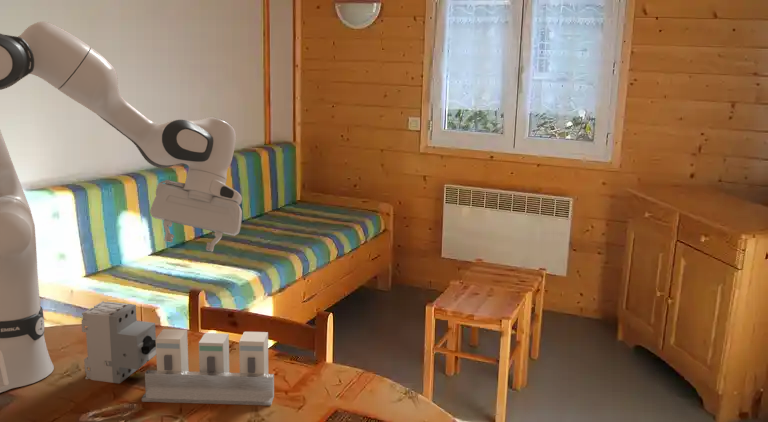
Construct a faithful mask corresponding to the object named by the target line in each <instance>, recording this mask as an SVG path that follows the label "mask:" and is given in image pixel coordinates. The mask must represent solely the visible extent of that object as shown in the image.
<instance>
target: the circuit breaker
mask: <svg viewBox="0 0 768 422" xmlns="http://www.w3.org/2000/svg"><path fill="white" fill-rule="evenodd" d="M81 316H82V319H81V321H80V322H81V332H82V333H85V335H86V338H85V339H86V349H87V351H86V353H87V357H85V358H84V359H83V361H84V373H85V374H86V377H85V380H89V379H90V380H91V381H97V382H106V383H113V384H121V383H122V382H123V381H125V380H126V379H127V378H128V377H130V376H131V375H133V374H134V373H135V372H136V371H137V370H139V369H140V368H142V367H144V365H146V364H147V362H150V360H152V359H153V358H155V356H156V337H157V336H156V335H157V334H156V333H157V332H156V322H150V321H142V320H137V306H136V304H134V303H124V302H123V303H122V302H114V301H104V300H102V301H100V302H99V303H97V304H96V305H95V304H94V305H93V307H90V308H88V309H87V310H85V311H83V312H82V313H81ZM88 368H89V369H88Z"/></svg>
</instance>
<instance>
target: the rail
mask: <svg viewBox="0 0 768 422" xmlns="http://www.w3.org/2000/svg"><path fill="white" fill-rule="evenodd" d="M144 383H145V393H144V394H143V395H142V397H141V402H142V403H145V402H146V403H147V402H148V403H175V404H176V403H178V404H183V403H184V404H211V405H213V404H214V405H237V406H238V405H239V406H241V405H242V406H243V405H244V406H245V405H246V406H248V405H249V406H272V404H273V401H274V398H275V374H274V373H268V374H257V373H240V372H229V373H224V372H200V371H190V370H189V371H159V370H157V369H156V370H154V369H150V370H149V369H147V370H146V371H145V373H144Z"/></svg>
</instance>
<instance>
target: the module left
mask: <svg viewBox="0 0 768 422" xmlns="http://www.w3.org/2000/svg"><path fill="white" fill-rule="evenodd" d="M188 343H189V341H188V329H173V328H172V329H171V328H169V329H168V328H163V329H162V330H160V333H159V334H158V335H157V336H156V355H155V356H156V358H155V359H156V370H159V371H190V370H189V348H188V347H189V345H188Z"/></svg>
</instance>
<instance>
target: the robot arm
mask: <svg viewBox="0 0 768 422" xmlns="http://www.w3.org/2000/svg"><path fill="white" fill-rule="evenodd" d="M28 75H34V76H36V77H38V78H40V79H42V80H43V81H45V82H47V83H48V84H49V85H51V86H53V88H55V89H57V90H58V91H59V92H61V93H62V94H64V95H65V96H67V97H68V98H71V99H72V100H74V101H75V102H77V103H78V104H80V105H82V106H83V107H84V108H86V109H88V110H90V112H93V113H94V114H96V115H97V116H98V117H100V118H101V119H102V120H103V121H104V122H106V123H107V124H108V125H110V126H111V127H112V128H114V129H115V130H116V131H117V132H119V133H120V134H121V135H123V136H124V137H126V138H127V139H128V140H129V141H130V142H132V143H133V144H134V146H135V147H136V148H137V150H138V151H139V152H140V154H141V156H142V157H143V158H144V160H145V161H146V162H147V163H149V164H150V165H152V166H153V167H156V168H161V169H166V168H167V169H168V168H171V167H174V166H175V165H181V164H185V165H187V166H188V172H187V174H186V178H185V181H184V182H179V181H174V180H173V181H172V179H171V180H170V179H166V180H161V181H160V182H159V183H158V184H157V185H156V186H157V187H156V189H155V197H154V199H153V202H152V204H151V207H150V210H149V211H150V215H151V217H152V218H153V219H156V220H161V221H163V223H162V224H163V229H164V233H165V235H164V239H163V240H164V241H165V242H168V243H173V241H174V240H173V239H174V238H175V235H174V234H173V233H171V230H170V228H171V227H172V226H173V224H178V225H184V226H187V227H192V228H197V229H200V230H201V229H202V230H205V231H210V232H214V238H213V240H212V241H211V242H208V241H207V243H206V246H205V251H208V252H214V249H215V245H216V244H218V242H219V241H220V240H221V239H222V237H223V235H228V236H232V237H235V236H237V235H238V234H239V233H240V231H241V225H242V220H243V219H242V218H243V211H242V208H241V206H240V205H241V204H242V202H243V201H242V200H243V197H242V195H241V193H239V192H238V190H236V189H234V188H232V187H230V186H229V185H227V181H228V180H227V179H228V175H227V174H228V169H229V168H230V166H231V164H232V162H233V161H232V160H233V157H234V151H235V147H236V141H237V140H236V139H237V136H236V135H237V134H236V130H235V129H234V127H233V126H232V124H230V123H229V122H227V121H226V120H225V119H224V120H223V119H221V118H218V117H215V116H208V117H205V118H202V119H201V118H200V119H196V120H195V119H194V120H193V119H192V120H191V119H189V120H187V119H174V120H169V121H166V122H165V123H159V122H155V121H153V120H151V119H149V118H148V117H147V116H145V115H144V114H143V113H141V112H140V111H139V110H137V109H136V108H135V107H134V106H133V105H131V104H130V103H129V102H128V101H127V100H125V99H124V98H123V96H122V94H121V93H120V90H119V82H118V81H119V80H118V79H119V78H118V74H117V70H116V68H115V67H114V66H113V65H112V64H111V63H110V62H109V60H107V59H106V58H105V57H104V56H103V55H102V53H100V52H98V51H97V50H96V49H94V48H93V47H91V46H90V45H89V44H87V43H86V42H84V41H83V40H82V39H80V38H78V37H77V36H76V35H74V34H72V33H70V32H68V31H66V30H65V29H62V27H60V26H57V25H55V24H54V23H51V22H49V21H38V22H35V23H33V24H31V25H29V26H28V27H26V29H24V30H23V32H22V33H21V34H19V36H16V35H14V36H13V35H9V34H4V33H0V90H4V89H8V88H10V87H12V86H13V85H15V84H16V83H17V82H19V81H21V80H23V79H24V78H25V77H28ZM7 147H8V146H7V145H6V143H5V139H4V136H3V133H2V130H0V394H1V393H3V392H6V391H9V390H11V389H15V388H19V387H25V386H28V385H31V384H34V383H37V382H39V381H41V380H44V379H45V378H46V377H48V376H50V375H51V374H52V372H53V371H54V368H55V366H54V363H53V362H52V359H51V357H50V354H49V350H48V347H47V343H46V340H45V339H46V338H45V318H44V308H43V307H42V306H41V301H40V300H41V299H40V287H39V286H40V285H39V274H38V257H37V238H36V228H35V221H34V218H33V215H32V211H31V208H30V207H31V206H30V204H29V202H28V200H27V198H26V197H27V196H26V195H25V192H24V189H23V187H22V184H21V182H20V178H19V177H18V174H17V171H16V169H15V166H14V164H13V161H12V158H11V155H10V153H9V152H10V151H9V150H8V148H7Z"/></svg>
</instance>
